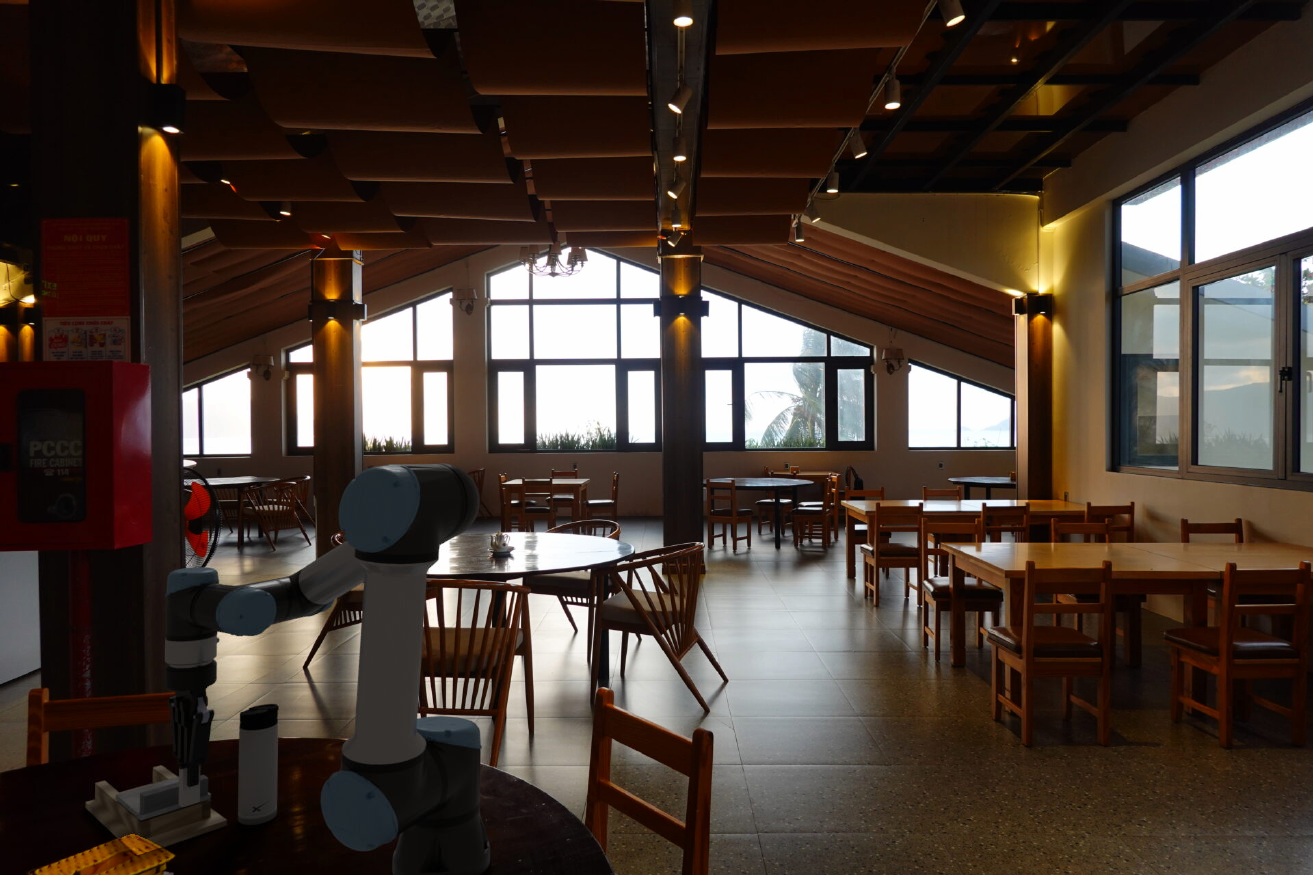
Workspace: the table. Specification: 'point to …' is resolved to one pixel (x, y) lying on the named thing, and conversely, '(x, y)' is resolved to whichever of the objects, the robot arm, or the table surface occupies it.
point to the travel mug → (258, 764)
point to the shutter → (158, 797)
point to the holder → (158, 827)
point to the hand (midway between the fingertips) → (189, 802)
